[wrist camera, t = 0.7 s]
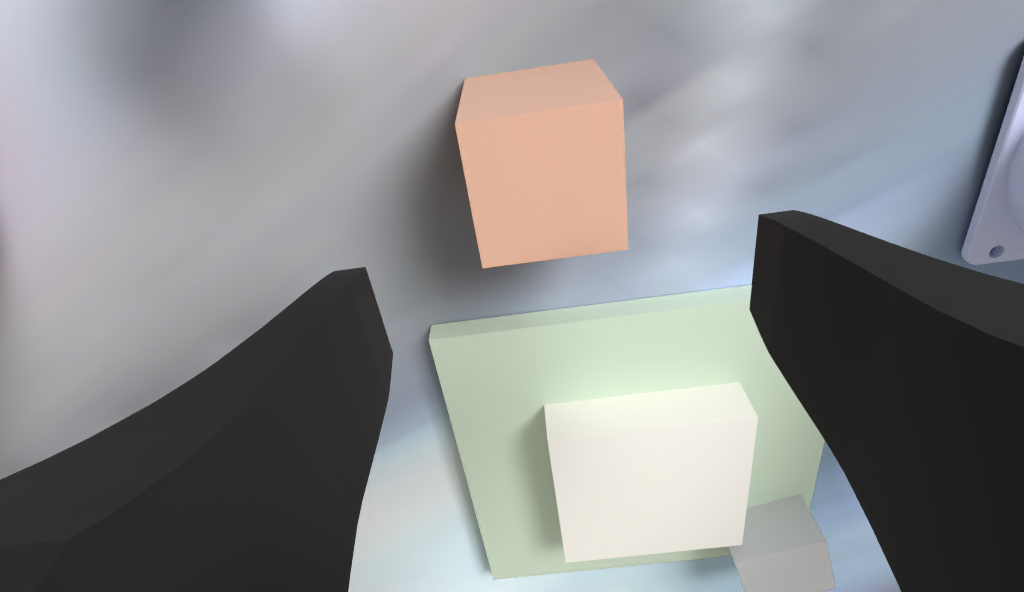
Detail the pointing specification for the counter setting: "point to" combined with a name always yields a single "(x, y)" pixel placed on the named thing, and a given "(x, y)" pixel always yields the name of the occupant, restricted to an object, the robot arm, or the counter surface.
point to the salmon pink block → (544, 163)
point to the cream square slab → (652, 471)
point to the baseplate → (601, 374)
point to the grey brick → (783, 549)
